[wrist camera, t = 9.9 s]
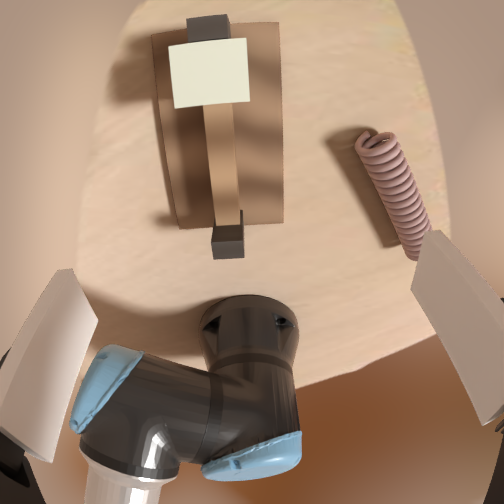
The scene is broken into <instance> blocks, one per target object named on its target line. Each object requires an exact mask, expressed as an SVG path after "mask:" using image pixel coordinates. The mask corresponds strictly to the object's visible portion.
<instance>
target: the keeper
mask: <svg viewBox="0 0 504 504" xmlns="http://www.w3.org/2000/svg"><path fill="white" fill-rule="evenodd" d="M168 48H169V59H170V70H171V80H172V89H173V98H174V107H175V109H176V108H183V107H191V106H200V105H210V104H221V103H234V102H250V93H249V76H248V58H247V41H246V38H234V39H221V40H211V41H202V42H194V43H187V44H180V45H174V46H168Z"/></svg>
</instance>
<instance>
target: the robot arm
mask: <svg viewBox="0 0 504 504" xmlns="http://www.w3.org/2000/svg"><path fill="white" fill-rule="evenodd" d="M411 291H412V293H413V294H414V296H415V297H416V299H417V301H418V302H419V304H420V306H421V307H422V309H423V311H424V312H425V314H426V316H427V317H428V319H429V321H430V323H431V324H432V326H433V328H434V330H435V331H436V333H437V335H438V337H439V338H440V340H441V342H442V344H443V345H444V347H445V349H446V351H447V353H448V355H449V357H450V359H451V360H452V363H453V365H454V366H455V368H456V370H457V372H458V374H459V376H460V378H461V380H462V383H463V385H464V387H465V389H466V391H467V393H468V395H469V397H470V399H471V402H472V404H473V406H474V408H475V410H476V413H477V415H478V417H479V420H480V422H481V424H482V426H483V425H485V424H487V423H489V422H491V421H493V420H494V419H496V418H498V417H499V416H500V415H501V414H502V413H503V412H504V298H499V296H498V295H497V294H496V293H495V291H494V290H493V289H492V288H491V286H490V285H489V284H488V283H487V281H486V280H485V279H484V278H483V277H482V276H481V274H480V273H479V272H478V271H477V270H476V269H475V267H474V266H473V265H472V264H471V263H470V262H469V260H468V259H467V258H466V257H465V256H464V255H463V254H462V253H461V252H460V250H459V249H458V248H457V247H456V246H455V245H454V244H453V243H452V242H451V241H450V240H449V239H448V238H447V237H446V236H445V235H444V233H443V232H442V231H441V230H435V231H425V232H424V236H423V241H422V245H421V250H420V254H419V258H418V262H417V266H416V270H415V274H414V278H413V282H412V285H411ZM97 323H98V319H97V317H96V315H95V313H94V311H93V310H92V308H91V306H90V304H89V302H88V300H87V298H86V296H85V294H84V292H83V290H82V288H81V286H80V284H79V282H78V280H77V278H76V276H75V274H74V271H73V269H64V270H57V272H56V273H55V275H54V276H53V278H52V279H51V281H50V282H49V284H48V285H47V287H46V288H45V290H44V291H43V293H42V295H41V296H40V298H39V300H38V301H37V303H36V304H35V306H34V308H33V310H32V311H31V313H30V315H29V316H28V318H27V320H26V321H25V323H24V325H23V327H22V329H21V330H20V332H19V334H18V336H17V338H16V339H15V341H14V343H13V345H12V347H11V348H10V349H9V350H8V351H7V353H6V354H5V355H4V356H3V357H2V359H1V361H0V504H46V503H45V501H44V498H43V496H42V494H41V492H40V489H39V487H38V484H37V482H36V479H35V477H34V474H33V471H32V469H31V466H30V463H29V461H28V459H27V458H26V457H25V456H24V452H25V451H26V452H28V453H29V454H31V455H32V456H34V457H35V458H37V459H40V460H43V461H46V462H50V463H52V462H53V458H54V454H55V450H56V446H57V442H58V438H59V434H60V430H61V427H62V423H63V420H64V417H65V413H66V410H67V406H68V403H69V400H70V397H71V394H72V391H73V388H74V385H75V382H76V378H77V376H78V373H79V370H80V368H81V365H82V362H83V359H84V357H85V354H86V351H87V348H88V346H89V343H90V341H91V338H92V336H93V333H94V331H95V328H96V326H97ZM199 342H200V346H201V349H202V353H203V356H204V359H205V363H206V366H207V369H208V372H207V371H203V370H200V369H196V368H192V367H189V366H185V365H182V364H178V363H175V362H172V361H168V360H165V359H162V358H159V357H156V356H152V355H149V354H146V353H145V351H142V350H141V351H136V350H133V349H129V348H126V347H123V346H119V345H116V344H110V345H106V346H104V347H103V348H102V349H101V350H100V351H99V352H98V353H97V355H96V356H95V358H94V359H93V361H92V363H91V365H90V367H89V369H88V371H87V373H86V375H85V377H84V380H83V382H82V384H81V387H80V389H79V392H78V394H77V397H76V400H75V402H74V406H73V409H72V413H71V419H70V421H69V426H70V428H71V429H72V430H73V431H75V433H76V434H81V439H80V445H79V450H80V452H81V454H82V455H83V456H84V458H85V459H86V460H87V462H88V463H89V470H88V477H87V484H86V491H85V500H84V504H158V501H159V496H160V491H161V486H162V485H163V484H165V483H167V482H170V481H172V480H174V479H175V478H176V477H177V475H178V471H179V466H180V463H181V462H189V463H195V464H200V465H202V467H201V471H202V474H203V476H204V477H205V478H207V479H212V480H216V481H242V480H251V479H258V478H263V477H268V476H272V475H276V474H280V473H283V472H285V471H288V470H290V469H292V468H293V467H295V466H296V465H297V464H298V463H299V461H300V459H301V455H302V451H301V436H302V432H301V431H300V424H299V416H298V409H297V401H296V393H295V386H294V379H293V371H292V366H293V362H294V358H295V354H296V350H297V346H298V342H299V329H298V323H297V319H296V317H295V315H294V313H293V312H292V311H291V310H290V309H289V308H288V307H287V306H286V305H284V304H283V303H281V302H279V301H277V300H274V299H271V298H267V297H263V296H252V295H248V296H237V297H232V298H229V299H225V300H223V301H221V302H218V303H217V304H215V305H213V306H212V307H211V308H209V309H208V310H207V311H206V313H205V314H204V315H203V317H202V319H201V322H200V329H199ZM503 426H504V419H503V420H502V421H501V422H500V423H499V424H498V425H497V427H496V429H495V432H498V431H499V430H500V429H501V428H502V427H503ZM501 433H502V434H503V439H502V443H501V448H500V452H499V455H498V459H497V463H496V466H495V470H494V473H493V476H492V480H491V483H490V486H489V489H488V492H487V495H486V497H485V500H484V503H483V504H504V429H503V430H502V431H501Z"/></svg>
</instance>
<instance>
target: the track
mask: <svg viewBox="0 0 504 504" xmlns="http://www.w3.org/2000/svg"><path fill="white" fill-rule="evenodd" d="M186 21H187V29H182V30H176V31H170V32H164V33H159V34H154V35H151V36H152V48H153V59H154V68H155V78H156V86H157V95H158V103H159V111H160V118H161V125H162V132H163V139H164V146H165V152H166V158H167V165H168V171H169V176H170V182H171V188H172V194H173V199H174V204H175V210H176V215H177V220H178V225H179V230H180V229H194V228H209V227H213V233H212V239H211V245H212V252H213V259H214V260H215V259H233V258H244V225H257V224H276V223H283V217H284V199H283V119H282V83H281V56H280V34H279V22H258V23H237V24H230V22H229V19H228V16H227V14H223V15H213V16H204V17H196V18H189V19H186ZM234 38H246V41H247V58H248V76H249V93H250V102H234V103H221V104H210V105H200V106H191V107H183V108H176V109H175V107H174V98H173V89H172V80H171V70H170V59H169V48H168V46H174V45H180V44H187V43H194V42H202V41H211V40H221V39H234Z"/></svg>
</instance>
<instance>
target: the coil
mask: <svg viewBox="0 0 504 504" xmlns="http://www.w3.org/2000/svg"><path fill="white" fill-rule="evenodd" d="M369 137H371V136H370V134H369V133H368V131H365V132H364V133H363V134H361V135H360V136H359V138H358V139H357V140H356V143H355V150H356V152H357V153H358V154H359V157H360V159H361V161H363V165H364V167H365V168H366V169H367V172H368V175H369V176H370V177H371V180H372V182H373V183H374V185H375V188H376V190H377V191H378V194H379V196H380V197H381V200H382V202H383V204H384V206H385V209H386V210H387V213H388V215H389V217H390V220H391V222H392V223H393V226H394V228H395V230H396V233H397V234H398V238H399V239H400V242H401V244H402V247H403V249H404V251H405V254H406V256H407V257H408V258H409V259H411V260H413V261H418V258H419V254H420V250H421V245H422V241H423V236H424V232H425V231H433V230H432V227H431V224H430V220H429V219H428V214H427V213H426V209H425V207H424V203H423V201H422V198H421V195H420V193H419V189H418V187H417V186H416V182H415V180H414V177H413V174H412V173H411V169H410V167H409V165H407V164H408V163H407V159H406V158H405V157H404V153H403V151H402V150H401V146H400V144H399V143H398V142H397V137H396V135H395V134H393V133H390V132H385V133H380V134H378V135H375V136H373V137H372V138H370V139H369V140H367V139H368V138H369ZM387 139H389V140H387ZM366 140H367V141H366ZM382 140H387V141H383V142H380V143H378V144H376V143H377V142H379V141H382ZM365 141H366V142H365ZM364 142H365V143H364ZM363 143H364V144H363ZM374 144H376V145H375V146H373V145H374ZM371 146H373V147H372V148H371V149H369V148H370V147H371ZM401 183H402V184H401ZM399 184H400V185H399ZM396 185H397V186H396ZM394 186H395V187H394ZM395 194H396V195H395Z"/></svg>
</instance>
